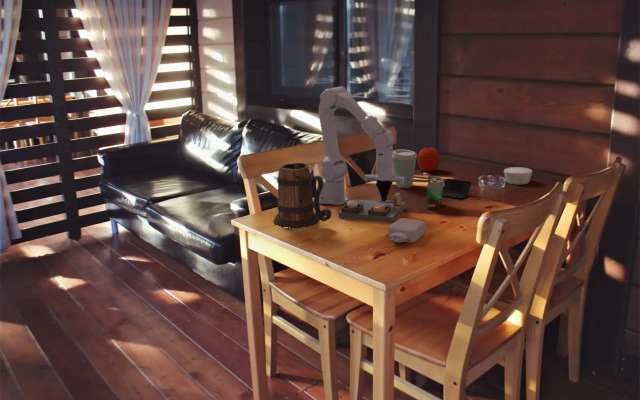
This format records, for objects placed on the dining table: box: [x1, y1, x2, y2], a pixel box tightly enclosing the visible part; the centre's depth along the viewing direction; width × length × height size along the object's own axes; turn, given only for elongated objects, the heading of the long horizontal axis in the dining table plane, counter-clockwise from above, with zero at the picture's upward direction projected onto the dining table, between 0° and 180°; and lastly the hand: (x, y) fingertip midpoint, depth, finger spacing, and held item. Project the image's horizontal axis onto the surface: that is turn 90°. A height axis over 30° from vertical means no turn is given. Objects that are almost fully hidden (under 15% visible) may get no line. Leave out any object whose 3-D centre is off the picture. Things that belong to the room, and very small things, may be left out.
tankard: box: [272, 162, 332, 229], centre depth 204 cm, size 24×17×20 cm
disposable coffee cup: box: [392, 149, 418, 189], centre depth 245 cm, size 11×11×15 cm
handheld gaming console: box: [442, 178, 472, 201], centre depth 232 cm, size 12×7×10 cm
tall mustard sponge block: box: [392, 191, 406, 207], centre depth 214 cm, size 3×5×4 cm, turn 158°
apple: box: [417, 147, 441, 172], centre depth 270 cm, size 10×10×12 cm
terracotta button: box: [374, 205, 385, 212], centre depth 207 cm, size 4×4×2 cm
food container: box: [426, 175, 445, 210], centre depth 219 cm, size 12×6×10 cm, turn 168°
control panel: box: [338, 198, 406, 224], centre depth 214 cm, size 20×17×4 cm
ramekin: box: [503, 166, 533, 186], centre depth 247 cm, size 11×11×5 cm
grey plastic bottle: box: [387, 217, 426, 244], centre depth 187 cm, size 5×9×15 cm
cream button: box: [346, 199, 358, 209], centre depth 211 cm, size 4×4×2 cm
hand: (384, 200), depth 216 cm, fingers closed
